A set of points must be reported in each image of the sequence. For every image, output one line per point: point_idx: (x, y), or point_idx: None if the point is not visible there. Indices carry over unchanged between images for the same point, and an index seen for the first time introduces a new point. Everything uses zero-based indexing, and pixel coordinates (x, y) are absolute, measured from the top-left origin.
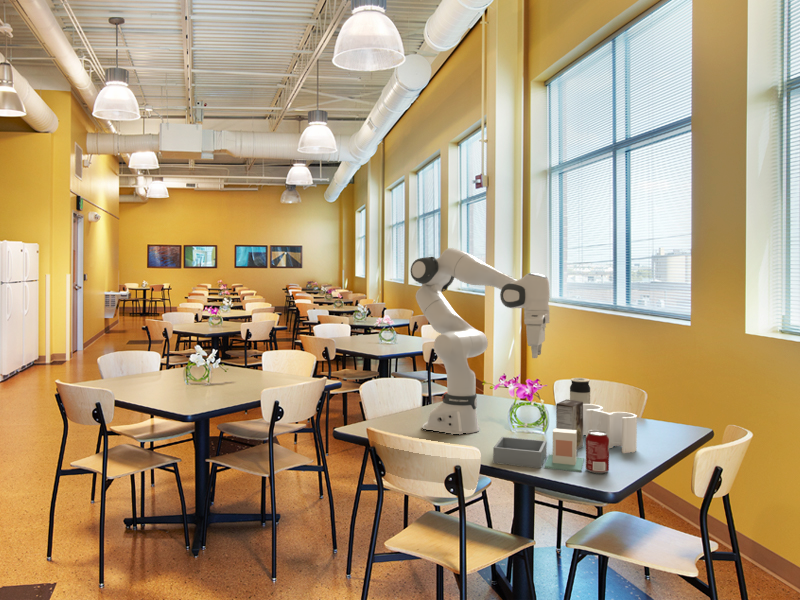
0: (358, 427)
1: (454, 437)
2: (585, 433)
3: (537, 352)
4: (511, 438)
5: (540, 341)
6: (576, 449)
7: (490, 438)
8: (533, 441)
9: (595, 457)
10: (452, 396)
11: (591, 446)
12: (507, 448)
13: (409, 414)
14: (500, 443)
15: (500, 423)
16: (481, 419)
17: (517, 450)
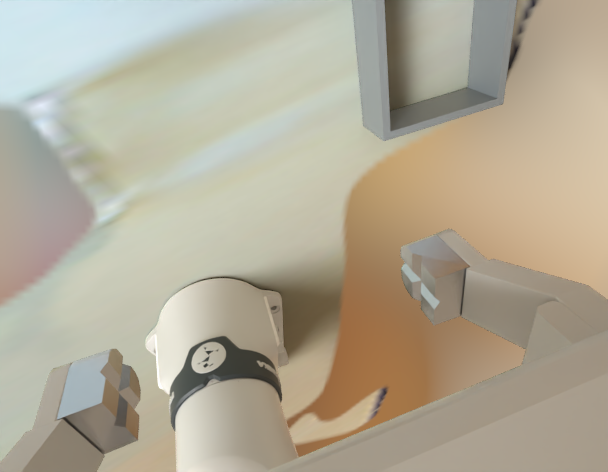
0: (329, 426)
1: (298, 284)
2: None
3: (123, 398)
4: (388, 105)
5: (592, 414)
6: None
7: (252, 217)
8: (383, 20)
9: None
10: (281, 400)
11: None
12: (504, 61)
13: (168, 456)
14: (435, 114)
15: (48, 290)
16: (55, 351)
17: (512, 24)
